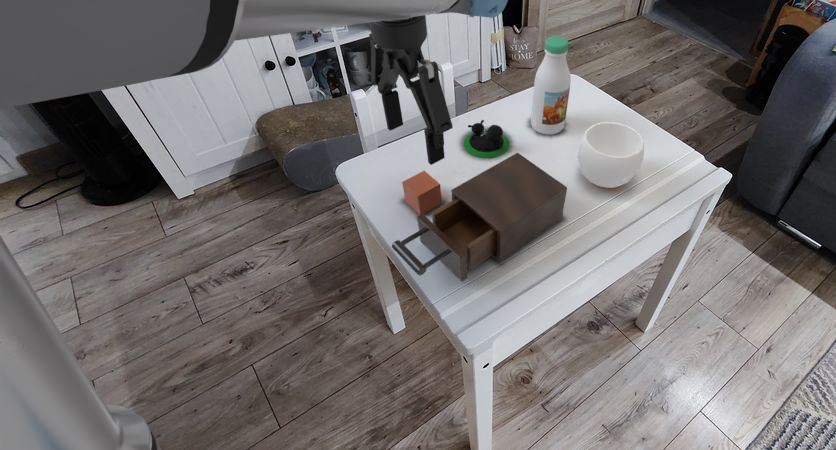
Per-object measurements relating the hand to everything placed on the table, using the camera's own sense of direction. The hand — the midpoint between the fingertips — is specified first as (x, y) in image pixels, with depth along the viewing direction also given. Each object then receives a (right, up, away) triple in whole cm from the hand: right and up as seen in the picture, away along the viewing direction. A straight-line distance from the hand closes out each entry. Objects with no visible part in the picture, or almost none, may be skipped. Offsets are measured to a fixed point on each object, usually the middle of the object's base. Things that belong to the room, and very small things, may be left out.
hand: (415, 143), depth 77 cm
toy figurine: (+11, +4, +23) cm, 26 cm away
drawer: (+7, -18, +2) cm, 19 cm away
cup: (+35, -4, +16) cm, 39 cm away
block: (0, -9, +10) cm, 14 cm away
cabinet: (+16, -13, +8) cm, 22 cm away
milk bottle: (+25, +9, +28) cm, 39 cm away
